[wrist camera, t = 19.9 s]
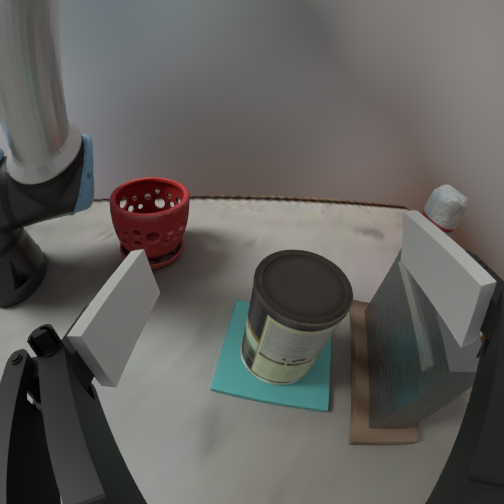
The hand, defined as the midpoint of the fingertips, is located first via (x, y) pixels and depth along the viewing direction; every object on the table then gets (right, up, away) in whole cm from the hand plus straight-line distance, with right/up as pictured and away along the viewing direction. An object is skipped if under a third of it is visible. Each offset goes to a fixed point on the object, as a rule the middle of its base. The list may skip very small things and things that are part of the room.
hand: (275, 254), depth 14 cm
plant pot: (-19, 0, +37) cm, 42 cm away
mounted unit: (+18, -18, +24) cm, 35 cm away
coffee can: (+2, -14, +24) cm, 28 cm away
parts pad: (+2, -14, +24) cm, 28 cm away
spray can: (+35, -3, +44) cm, 57 cm away
